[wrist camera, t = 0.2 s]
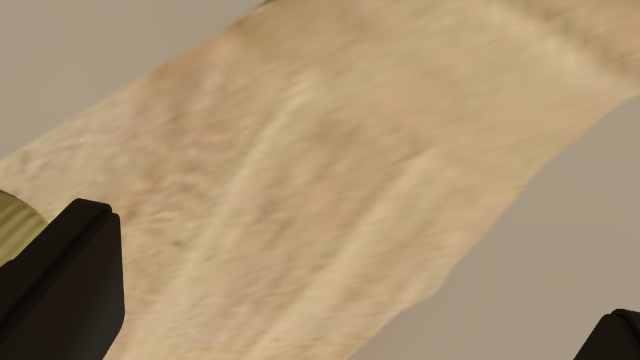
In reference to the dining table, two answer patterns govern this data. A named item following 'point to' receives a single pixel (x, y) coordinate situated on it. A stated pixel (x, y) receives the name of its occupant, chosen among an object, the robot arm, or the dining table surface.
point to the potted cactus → (17, 226)
